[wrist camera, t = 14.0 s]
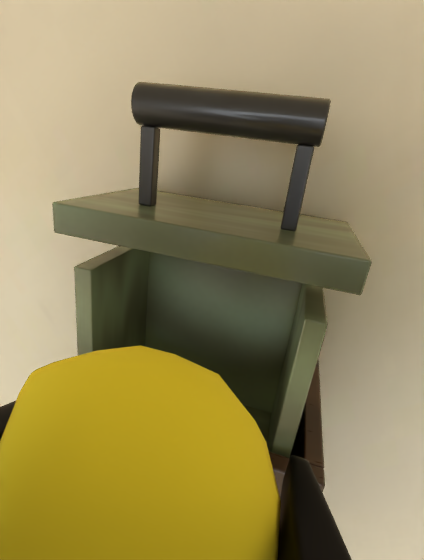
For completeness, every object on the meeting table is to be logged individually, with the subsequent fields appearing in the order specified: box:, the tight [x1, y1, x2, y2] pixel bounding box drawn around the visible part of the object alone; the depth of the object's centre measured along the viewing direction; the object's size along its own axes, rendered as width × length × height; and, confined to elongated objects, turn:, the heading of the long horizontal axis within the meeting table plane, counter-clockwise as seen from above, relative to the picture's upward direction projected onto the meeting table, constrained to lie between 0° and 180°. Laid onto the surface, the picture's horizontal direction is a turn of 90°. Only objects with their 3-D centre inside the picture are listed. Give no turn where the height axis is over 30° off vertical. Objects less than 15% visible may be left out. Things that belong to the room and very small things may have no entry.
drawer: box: [53, 82, 372, 458], centre depth 16 cm, size 17×11×7 cm, turn 173°
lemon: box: [0, 345, 281, 560], centre depth 7 cm, size 7×5×5 cm
